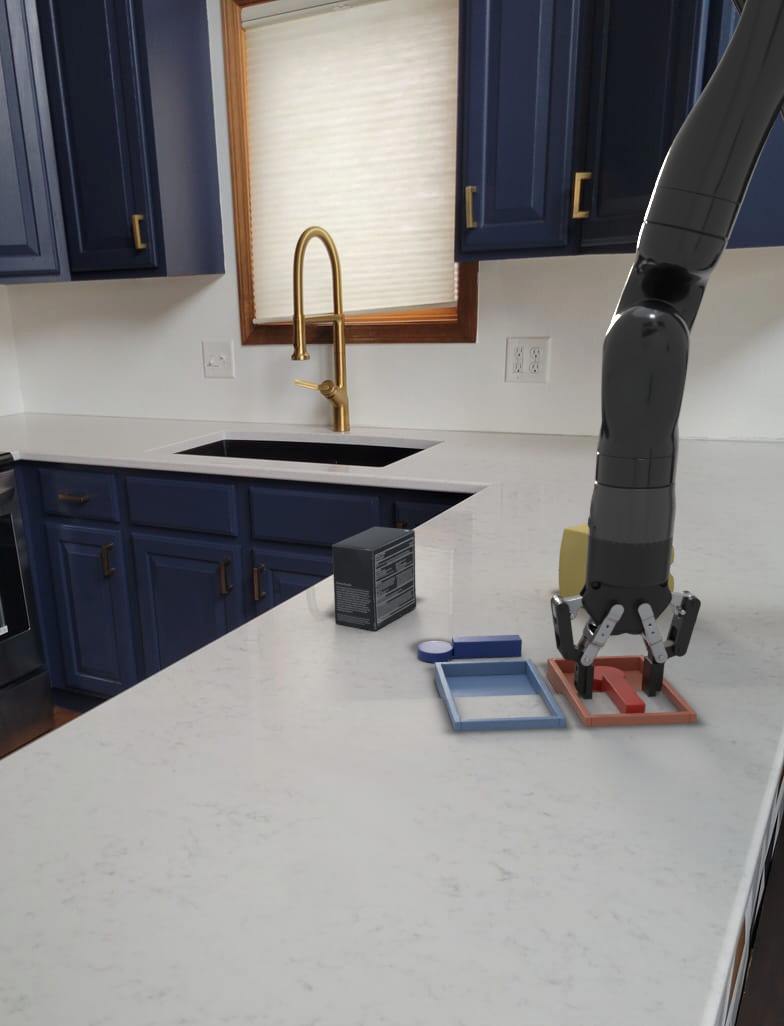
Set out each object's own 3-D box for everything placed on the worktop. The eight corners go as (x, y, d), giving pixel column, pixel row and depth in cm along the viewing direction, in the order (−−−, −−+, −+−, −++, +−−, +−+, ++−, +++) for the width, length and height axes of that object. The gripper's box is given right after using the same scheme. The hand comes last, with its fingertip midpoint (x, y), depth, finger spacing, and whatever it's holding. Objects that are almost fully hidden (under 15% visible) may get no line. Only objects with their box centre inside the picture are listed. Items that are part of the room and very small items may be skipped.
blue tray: (529, 676, 102) (530, 658, 102) (564, 737, 89) (565, 718, 88) (434, 679, 103) (434, 662, 102) (454, 741, 89) (454, 722, 88)
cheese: (673, 602, 123) (680, 526, 120) (618, 620, 117) (624, 541, 114) (607, 584, 131) (612, 512, 128) (553, 600, 126) (557, 526, 122)
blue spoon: (516, 647, 111) (516, 631, 110) (523, 660, 107) (524, 643, 106) (415, 650, 111) (415, 634, 110) (419, 663, 107) (419, 647, 106)
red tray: (642, 672, 102) (643, 654, 102) (694, 733, 88) (697, 713, 88) (546, 675, 102) (547, 658, 102) (584, 737, 89) (585, 717, 88)
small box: (375, 600, 129) (374, 524, 125) (418, 607, 125) (418, 529, 121) (331, 623, 121) (329, 542, 117) (375, 632, 117) (374, 549, 113)
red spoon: (655, 723, 90) (657, 703, 89) (612, 724, 90) (614, 705, 89) (617, 675, 100) (618, 657, 100) (579, 676, 101) (580, 659, 100)
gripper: (563, 542, 85) (553, 714, 91) (725, 536, 85) (704, 709, 91) (543, 523, 92) (535, 683, 98) (693, 517, 92) (676, 678, 98)
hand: (617, 695), depth 95 cm, fingers open, 5 cm apart
